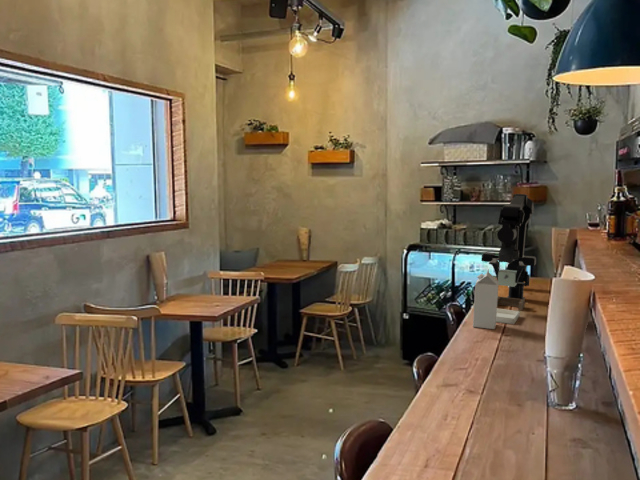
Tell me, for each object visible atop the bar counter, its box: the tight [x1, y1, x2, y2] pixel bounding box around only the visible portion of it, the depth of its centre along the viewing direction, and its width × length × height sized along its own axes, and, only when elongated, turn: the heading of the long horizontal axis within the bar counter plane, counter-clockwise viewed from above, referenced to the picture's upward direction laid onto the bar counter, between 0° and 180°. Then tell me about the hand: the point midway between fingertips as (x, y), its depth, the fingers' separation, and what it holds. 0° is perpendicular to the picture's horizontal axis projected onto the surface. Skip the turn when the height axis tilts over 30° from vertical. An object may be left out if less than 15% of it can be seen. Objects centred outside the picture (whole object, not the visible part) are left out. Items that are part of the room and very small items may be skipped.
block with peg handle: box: [498, 269, 517, 287], centre depth 224 cm, size 8×6×5 cm
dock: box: [497, 295, 526, 312], centre depth 233 cm, size 7×10×3 cm, turn 63°
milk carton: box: [472, 268, 499, 330], centre depth 205 cm, size 7×7×19 cm
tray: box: [496, 307, 521, 325], centre depth 217 cm, size 12×12×2 cm
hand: (507, 282), depth 225 cm, fingers closed on block with peg handle, 6 cm apart
